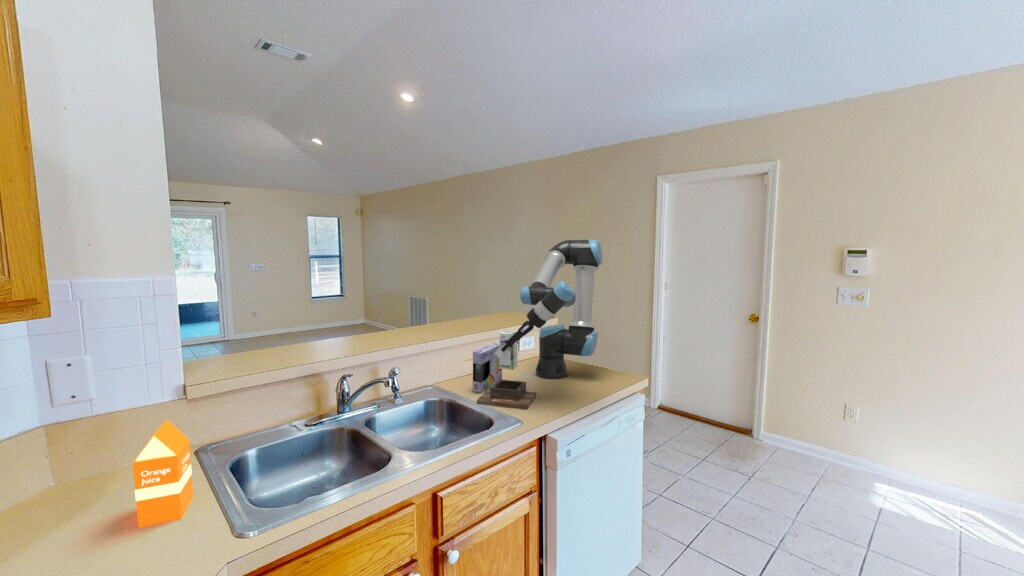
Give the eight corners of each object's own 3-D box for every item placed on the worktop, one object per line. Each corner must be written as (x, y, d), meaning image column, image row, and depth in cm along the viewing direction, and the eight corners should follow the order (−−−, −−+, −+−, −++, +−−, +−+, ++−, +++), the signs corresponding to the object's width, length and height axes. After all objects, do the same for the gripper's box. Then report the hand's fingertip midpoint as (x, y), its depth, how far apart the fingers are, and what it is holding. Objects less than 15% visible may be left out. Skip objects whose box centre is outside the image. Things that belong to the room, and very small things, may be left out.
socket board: (490, 391, 174) (489, 378, 173) (536, 395, 168) (536, 382, 167) (476, 403, 159) (476, 389, 159) (527, 409, 154) (527, 395, 153)
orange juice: (137, 528, 89) (129, 438, 87) (153, 504, 97) (146, 422, 95) (182, 518, 92) (175, 431, 90) (194, 496, 100) (188, 416, 98)
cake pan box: (480, 394, 170) (480, 352, 168) (470, 392, 172) (470, 350, 170) (503, 381, 187) (503, 342, 185) (493, 379, 189) (493, 341, 187)
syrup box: (499, 369, 162) (499, 332, 161) (504, 365, 168) (504, 329, 166) (513, 370, 160) (512, 333, 159) (517, 366, 166) (517, 330, 164)
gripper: (541, 326, 149) (498, 367, 155) (551, 317, 167) (513, 354, 173) (527, 311, 150) (485, 352, 156) (539, 304, 168) (500, 341, 174)
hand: (499, 353), depth 164 cm, fingers closed on syrup box, 6 cm apart
